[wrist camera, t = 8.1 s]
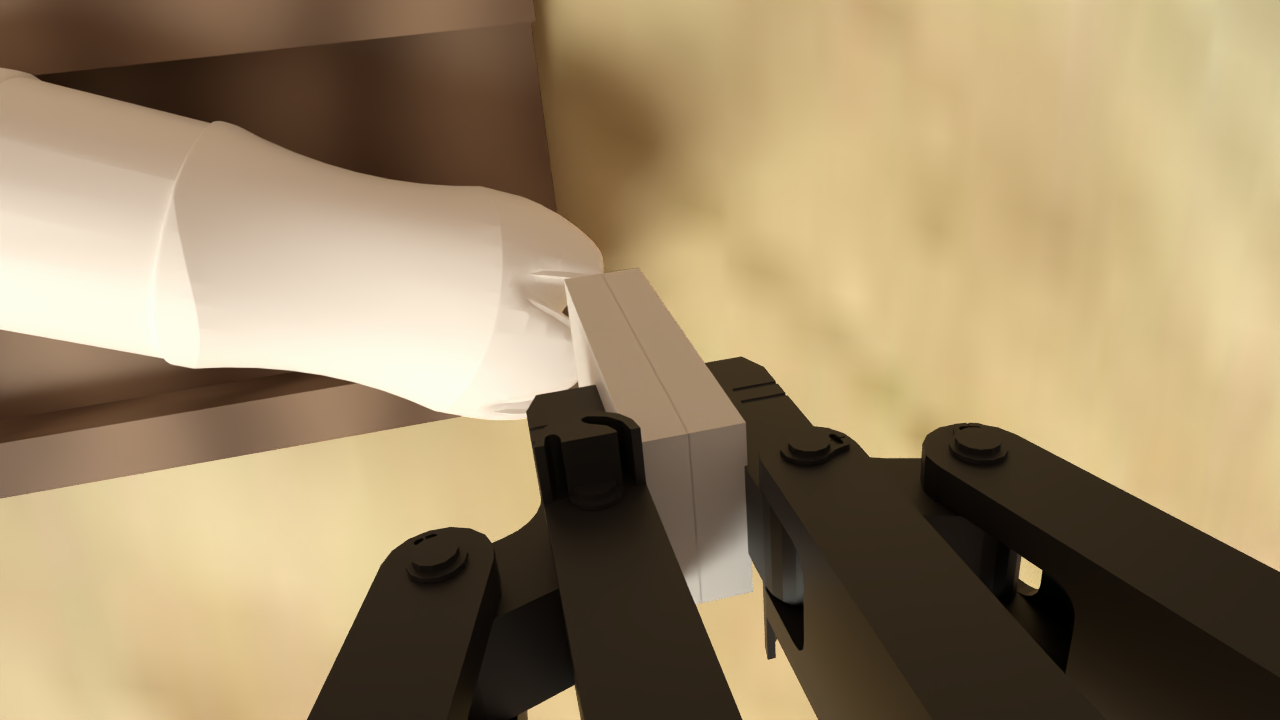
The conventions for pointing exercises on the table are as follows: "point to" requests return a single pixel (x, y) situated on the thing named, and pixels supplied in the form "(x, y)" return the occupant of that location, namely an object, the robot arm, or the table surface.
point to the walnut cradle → (296, 120)
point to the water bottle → (275, 257)
